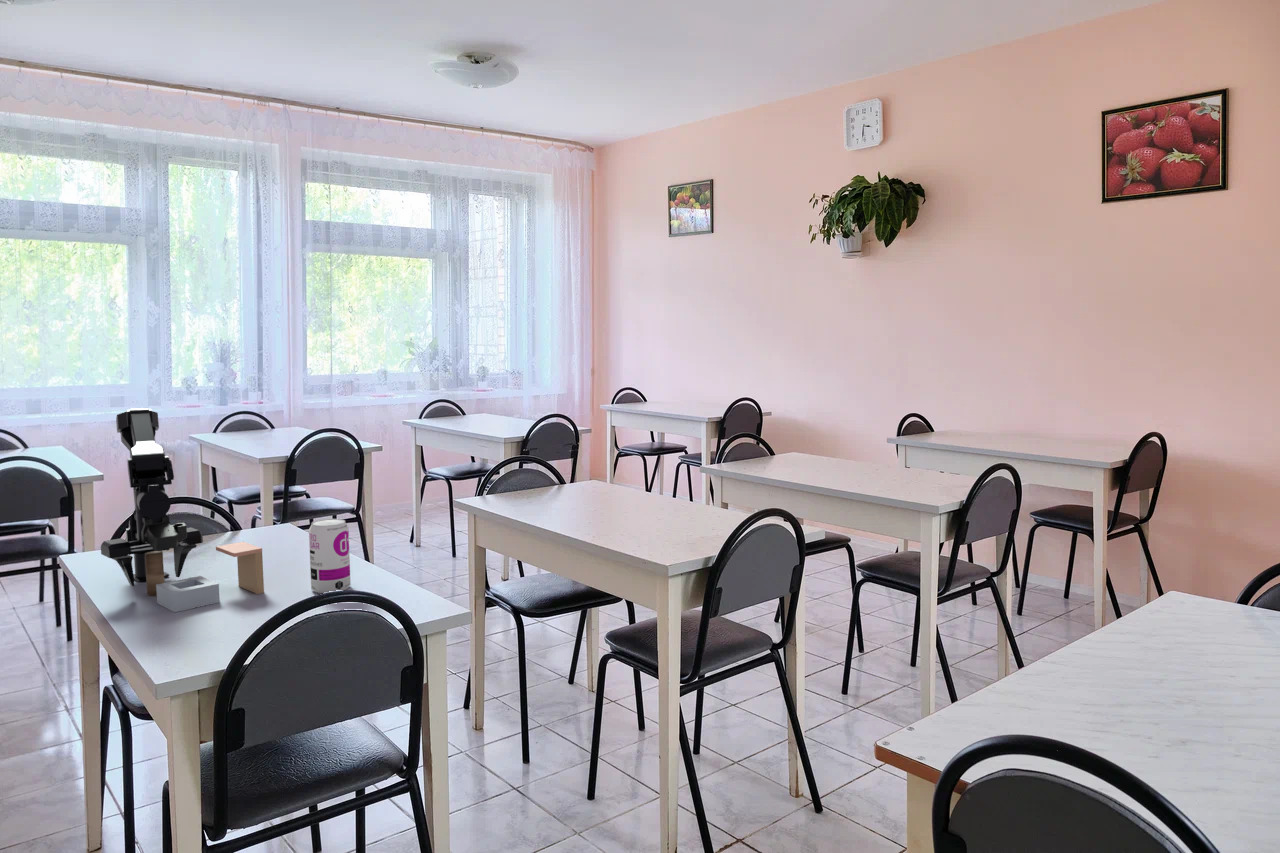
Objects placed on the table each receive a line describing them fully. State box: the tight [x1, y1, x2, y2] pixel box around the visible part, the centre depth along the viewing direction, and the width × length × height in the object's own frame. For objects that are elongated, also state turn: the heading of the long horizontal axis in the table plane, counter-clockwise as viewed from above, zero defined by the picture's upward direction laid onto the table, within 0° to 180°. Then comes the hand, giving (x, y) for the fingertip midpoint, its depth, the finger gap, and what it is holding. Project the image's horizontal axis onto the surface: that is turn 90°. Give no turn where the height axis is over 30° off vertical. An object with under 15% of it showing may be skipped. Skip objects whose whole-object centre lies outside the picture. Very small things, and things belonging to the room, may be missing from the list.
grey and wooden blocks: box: [156, 541, 265, 613], centre depth 192 cm, size 9×18×10 cm, turn 138°
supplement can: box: [308, 518, 351, 594], centre depth 198 cm, size 8×8×15 cm
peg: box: [145, 551, 165, 597], centre depth 195 cm, size 3×3×9 cm
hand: (155, 581), depth 195 cm, fingers open, 9 cm apart
